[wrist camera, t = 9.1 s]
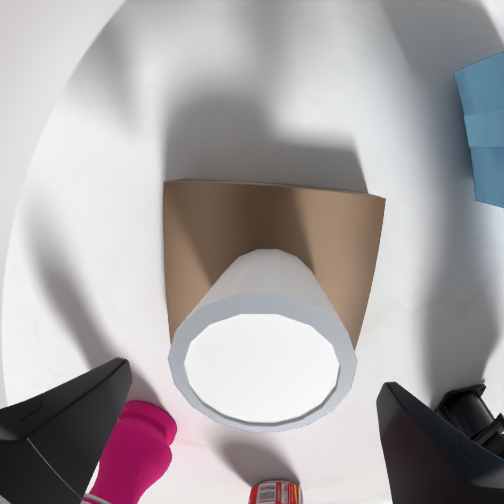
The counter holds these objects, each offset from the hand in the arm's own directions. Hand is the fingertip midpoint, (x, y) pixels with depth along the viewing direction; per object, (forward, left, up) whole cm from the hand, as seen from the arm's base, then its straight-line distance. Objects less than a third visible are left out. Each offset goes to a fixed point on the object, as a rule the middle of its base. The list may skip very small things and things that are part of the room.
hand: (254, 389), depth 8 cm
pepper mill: (+11, +18, -11) cm, 24 cm away
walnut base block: (0, 0, -11) cm, 11 cm away
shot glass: (0, 0, -8) cm, 8 cm away
